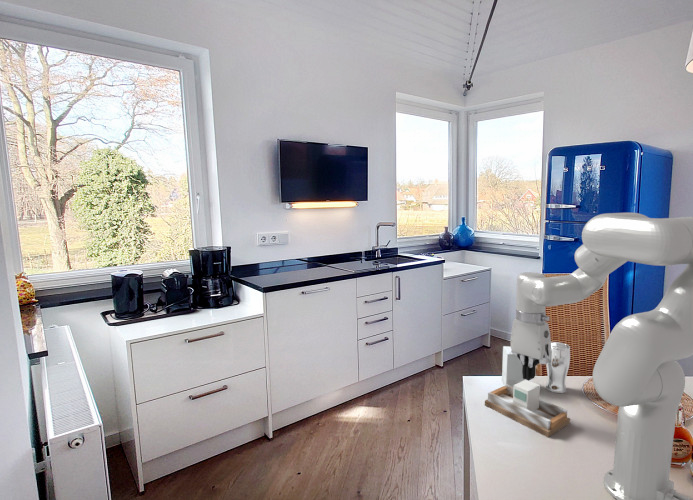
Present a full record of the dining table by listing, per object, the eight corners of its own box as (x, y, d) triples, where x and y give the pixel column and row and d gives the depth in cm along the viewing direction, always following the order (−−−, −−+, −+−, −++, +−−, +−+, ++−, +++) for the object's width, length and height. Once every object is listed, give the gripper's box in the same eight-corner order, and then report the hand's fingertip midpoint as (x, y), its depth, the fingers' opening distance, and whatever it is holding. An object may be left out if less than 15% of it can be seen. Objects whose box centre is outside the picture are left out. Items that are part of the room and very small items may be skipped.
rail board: (569, 423, 112) (570, 410, 112) (548, 437, 106) (548, 423, 106) (506, 394, 129) (507, 383, 128) (484, 405, 123) (485, 393, 122)
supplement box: (529, 392, 130) (531, 355, 128) (505, 390, 132) (506, 353, 130) (524, 381, 137) (525, 346, 135) (501, 380, 139) (502, 345, 137)
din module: (538, 407, 117) (540, 385, 116) (526, 414, 113) (527, 391, 112) (524, 401, 120) (525, 379, 120) (512, 407, 117) (513, 385, 116)
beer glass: (567, 396, 127) (570, 351, 125) (543, 391, 131) (545, 347, 129) (568, 386, 133) (570, 343, 131) (544, 382, 137) (547, 340, 135)
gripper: (563, 320, 109) (561, 384, 111) (514, 308, 121) (513, 366, 123) (548, 325, 105) (546, 391, 107) (499, 313, 117) (497, 373, 119)
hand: (528, 378), depth 115 cm, fingers closed
